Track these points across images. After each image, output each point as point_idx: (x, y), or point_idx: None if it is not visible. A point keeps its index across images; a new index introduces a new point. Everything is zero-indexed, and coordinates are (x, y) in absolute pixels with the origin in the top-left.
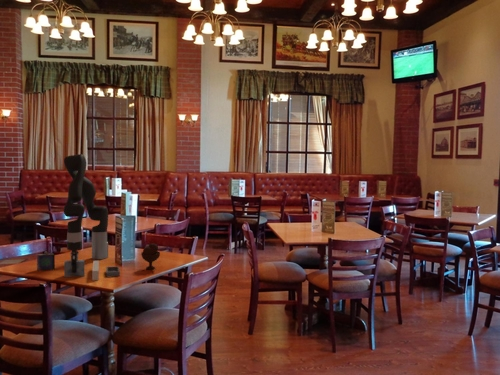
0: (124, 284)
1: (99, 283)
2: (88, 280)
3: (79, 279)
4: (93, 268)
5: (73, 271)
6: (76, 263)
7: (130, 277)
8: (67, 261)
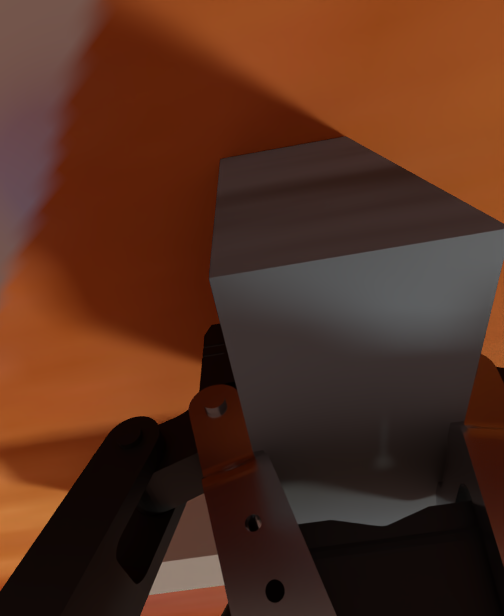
0: None
1: (6, 519)
2: (85, 445)
3: (112, 371)
4: (182, 563)
5: (211, 338)
6: (173, 513)
7: (202, 603)
8: (361, 337)
